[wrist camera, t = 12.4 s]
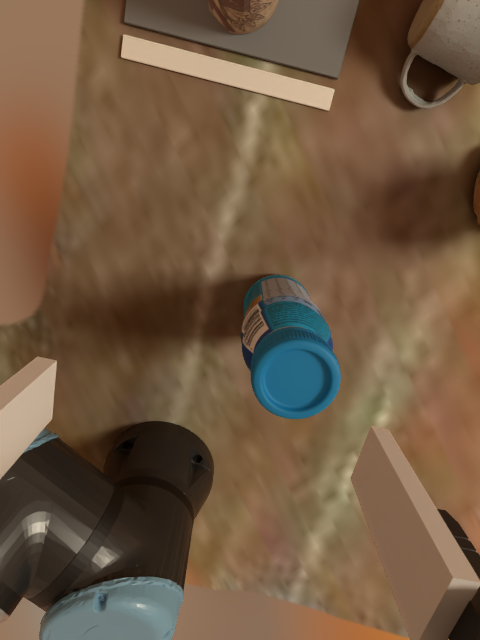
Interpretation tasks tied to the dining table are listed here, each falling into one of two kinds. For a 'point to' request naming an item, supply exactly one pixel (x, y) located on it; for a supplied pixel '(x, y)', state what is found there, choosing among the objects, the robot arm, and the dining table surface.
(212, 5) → the figurine
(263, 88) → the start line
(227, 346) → the dining table surface
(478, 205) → the brown boot planter
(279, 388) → the beverage bottle
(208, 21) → the mat
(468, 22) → the ceramic mug
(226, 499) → the dining table surface
